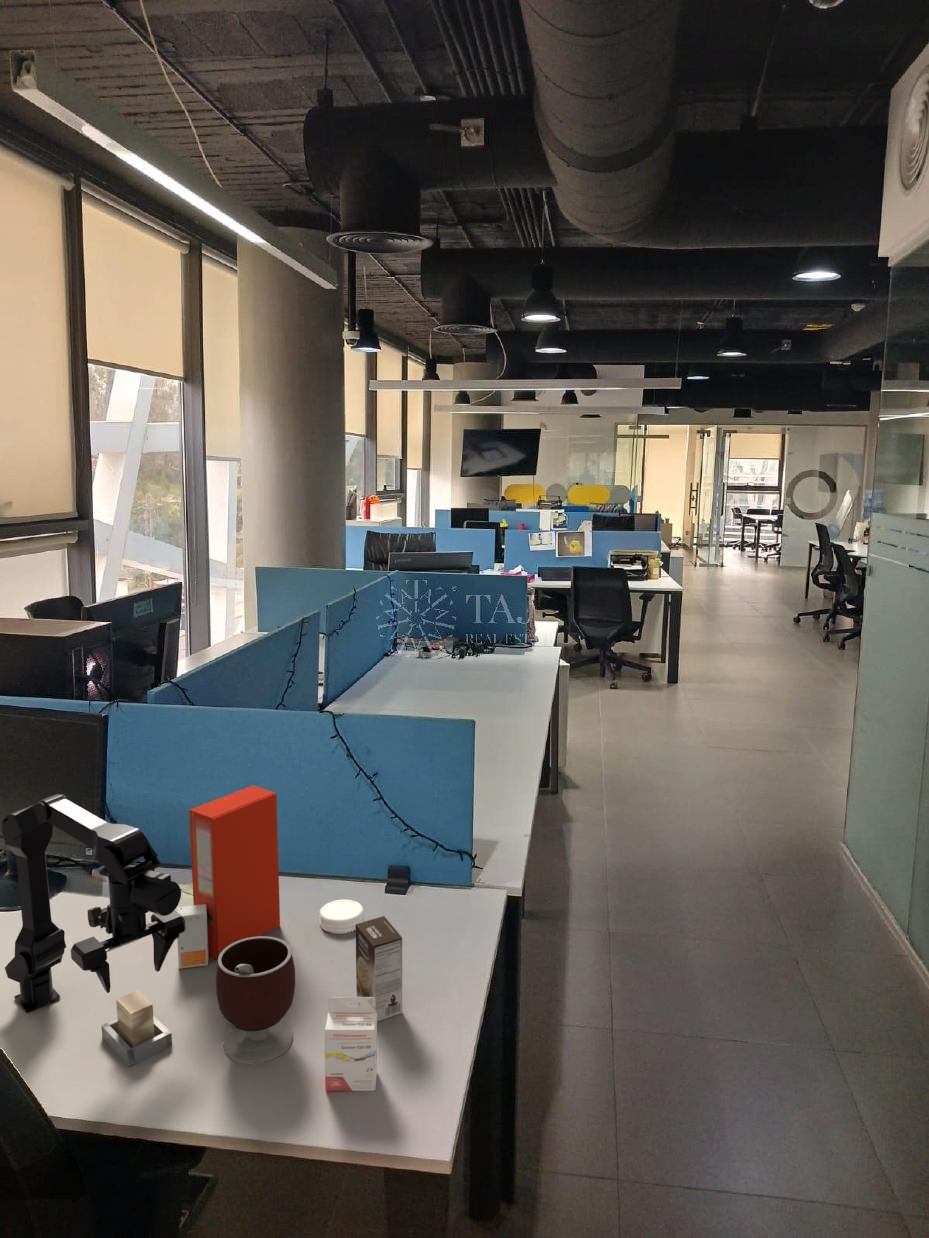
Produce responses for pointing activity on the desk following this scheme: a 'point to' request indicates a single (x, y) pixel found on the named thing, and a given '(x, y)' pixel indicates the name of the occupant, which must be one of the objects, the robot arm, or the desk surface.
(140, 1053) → the collar
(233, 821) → the file binder
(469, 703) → the desk surface
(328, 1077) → the ink cartridge box
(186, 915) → the skincare box
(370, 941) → the coffee box
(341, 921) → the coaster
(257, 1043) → the mate gourd
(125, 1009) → the block
